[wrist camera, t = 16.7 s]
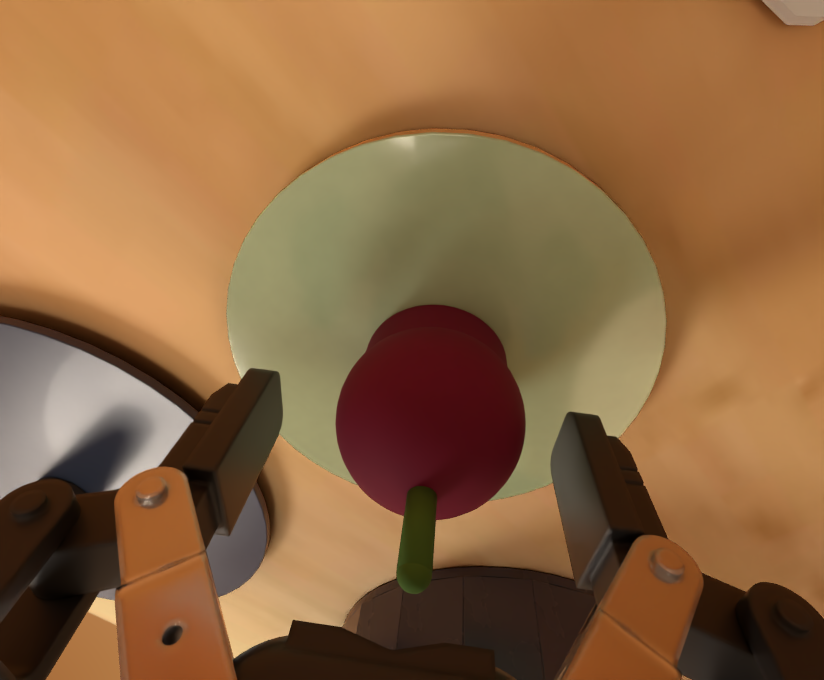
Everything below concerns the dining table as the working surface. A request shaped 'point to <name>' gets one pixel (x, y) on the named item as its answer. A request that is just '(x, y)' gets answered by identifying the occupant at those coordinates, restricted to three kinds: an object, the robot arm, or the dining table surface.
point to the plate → (450, 282)
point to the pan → (481, 616)
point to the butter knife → (798, 11)
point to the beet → (430, 424)
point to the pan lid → (101, 432)
